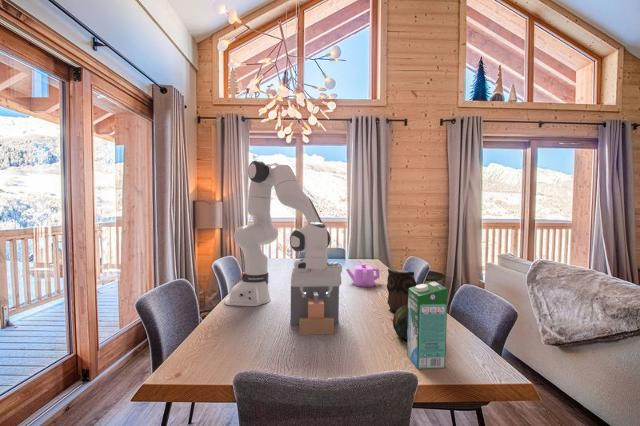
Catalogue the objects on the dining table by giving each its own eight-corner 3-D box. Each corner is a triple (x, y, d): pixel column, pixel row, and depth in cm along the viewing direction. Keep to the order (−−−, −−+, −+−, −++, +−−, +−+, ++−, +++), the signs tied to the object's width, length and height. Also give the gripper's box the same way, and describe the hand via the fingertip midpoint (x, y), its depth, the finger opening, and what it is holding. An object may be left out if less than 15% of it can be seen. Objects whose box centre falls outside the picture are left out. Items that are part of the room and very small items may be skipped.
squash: (389, 314, 130) (395, 294, 119) (426, 316, 129) (436, 296, 119) (392, 348, 119) (400, 330, 109) (433, 351, 119) (444, 333, 109)
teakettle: (366, 289, 186) (366, 268, 185) (343, 283, 198) (344, 263, 197) (382, 284, 198) (383, 264, 197) (360, 279, 210) (361, 260, 209)
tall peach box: (308, 324, 124) (308, 296, 124) (307, 317, 131) (307, 291, 131) (323, 323, 125) (324, 296, 124) (322, 317, 132) (322, 291, 131)
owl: (419, 317, 141) (420, 272, 141) (391, 317, 141) (392, 272, 140) (410, 307, 154) (411, 266, 153) (384, 307, 154) (385, 266, 153)
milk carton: (406, 354, 107) (408, 280, 106) (432, 354, 107) (434, 280, 106) (417, 369, 98) (419, 288, 97) (445, 368, 98) (447, 288, 97)
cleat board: (290, 334, 121) (291, 293, 121) (290, 319, 137) (290, 282, 136) (342, 333, 123) (343, 292, 123) (336, 318, 139) (337, 282, 138)
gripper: (340, 261, 131) (340, 294, 132) (290, 261, 129) (290, 295, 130) (343, 264, 125) (342, 299, 126) (291, 264, 123) (290, 300, 123)
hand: (315, 297), depth 128 cm, fingers open, 8 cm apart
